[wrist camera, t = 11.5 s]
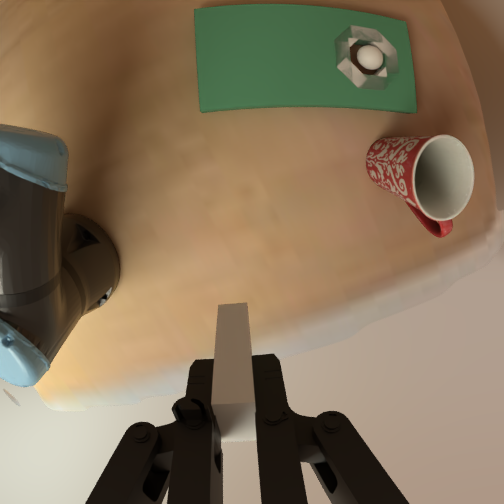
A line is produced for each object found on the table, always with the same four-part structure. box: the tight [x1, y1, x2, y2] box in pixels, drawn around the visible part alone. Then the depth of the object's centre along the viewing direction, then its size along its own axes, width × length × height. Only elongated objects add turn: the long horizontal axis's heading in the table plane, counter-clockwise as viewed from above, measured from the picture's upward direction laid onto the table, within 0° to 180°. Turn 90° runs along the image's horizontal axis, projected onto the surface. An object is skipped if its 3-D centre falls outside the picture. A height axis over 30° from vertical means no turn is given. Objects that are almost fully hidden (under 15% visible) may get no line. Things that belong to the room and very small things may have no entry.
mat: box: [194, 4, 417, 114], centre depth 30 cm, size 28×14×2 cm, turn 94°
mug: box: [366, 134, 474, 238], centre depth 31 cm, size 13×9×14 cm
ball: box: [357, 45, 383, 70], centre depth 29 cm, size 4×4×4 cm
